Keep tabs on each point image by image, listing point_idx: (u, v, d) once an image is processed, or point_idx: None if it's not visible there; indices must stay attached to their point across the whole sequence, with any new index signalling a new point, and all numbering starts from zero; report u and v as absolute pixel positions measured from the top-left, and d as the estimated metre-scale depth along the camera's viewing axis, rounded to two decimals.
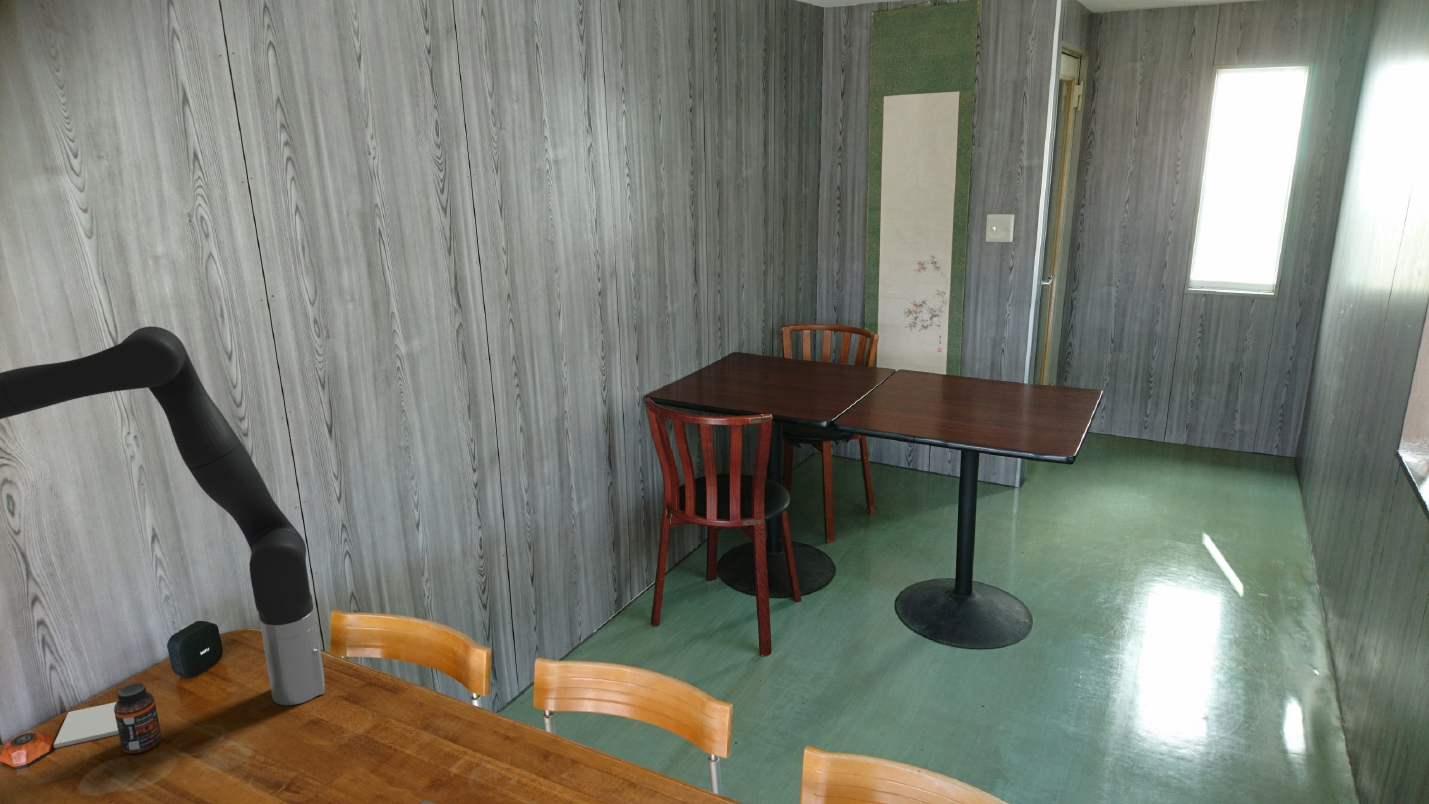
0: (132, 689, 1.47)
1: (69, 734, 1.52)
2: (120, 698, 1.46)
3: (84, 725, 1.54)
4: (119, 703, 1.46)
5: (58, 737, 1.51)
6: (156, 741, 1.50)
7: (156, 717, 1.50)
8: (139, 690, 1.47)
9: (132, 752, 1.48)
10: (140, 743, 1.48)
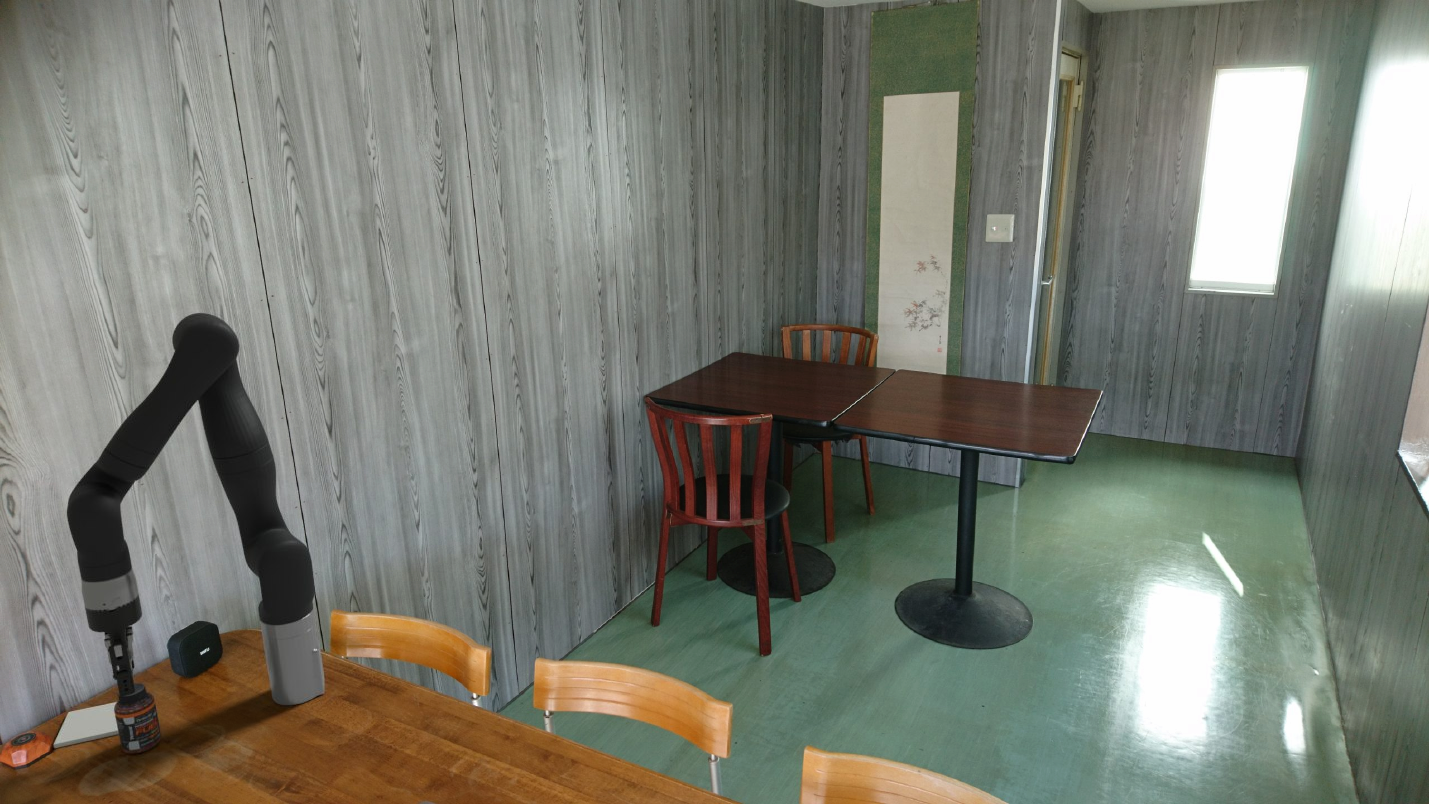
0: None
1: (69, 734, 1.52)
2: (120, 698, 1.46)
3: (84, 725, 1.54)
4: (119, 703, 1.46)
5: (58, 737, 1.51)
6: (156, 741, 1.50)
7: (156, 717, 1.50)
8: (139, 690, 1.47)
9: (132, 752, 1.48)
10: (140, 743, 1.48)
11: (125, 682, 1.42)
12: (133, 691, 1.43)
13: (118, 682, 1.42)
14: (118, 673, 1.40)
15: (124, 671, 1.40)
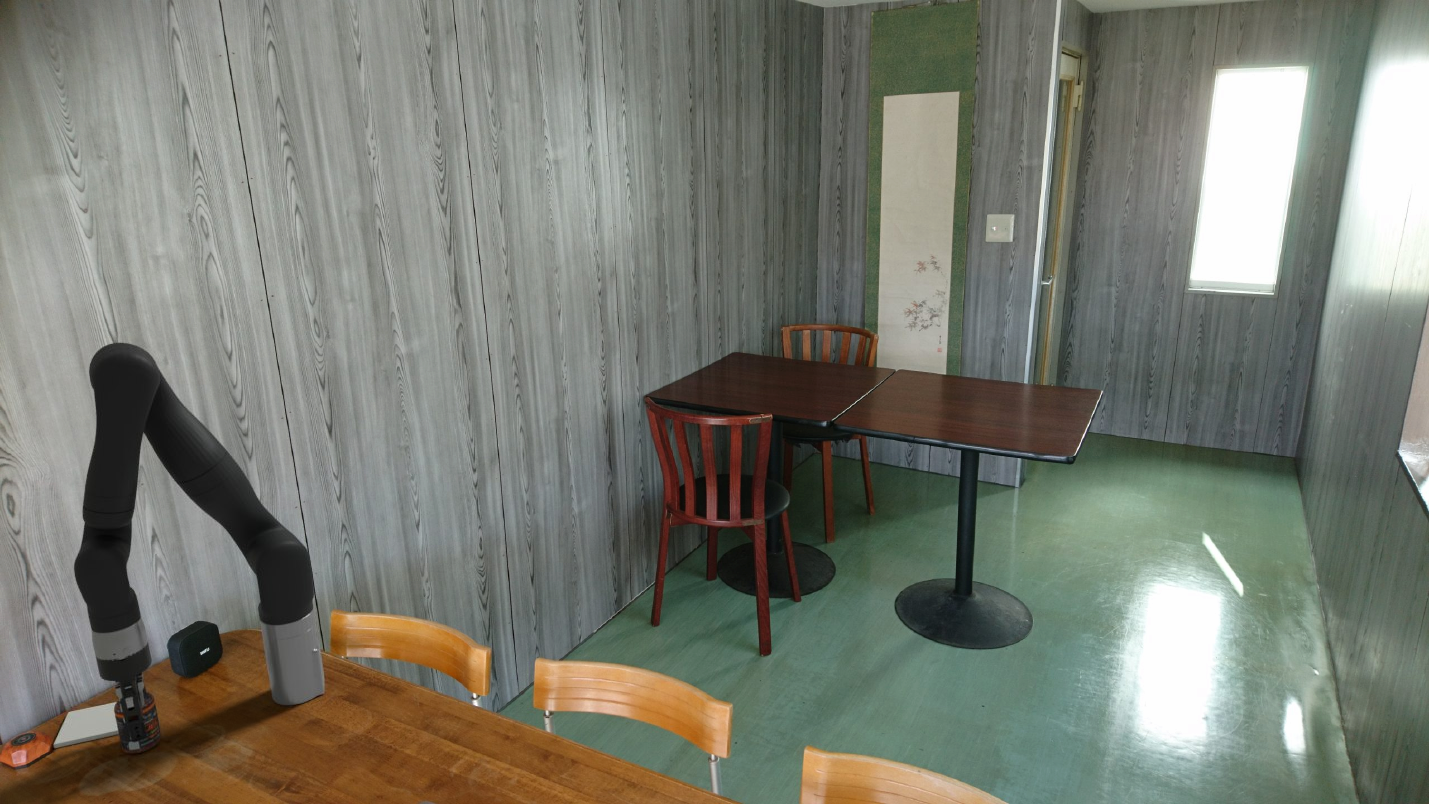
0: None
1: (69, 734, 1.52)
2: None
3: (84, 725, 1.54)
4: (119, 703, 1.46)
5: (58, 737, 1.51)
6: (156, 741, 1.50)
7: (156, 717, 1.50)
8: None
9: (132, 752, 1.48)
10: (140, 743, 1.48)
11: (137, 729, 1.46)
12: (145, 737, 1.47)
13: (130, 729, 1.46)
14: (130, 721, 1.43)
15: (136, 719, 1.44)
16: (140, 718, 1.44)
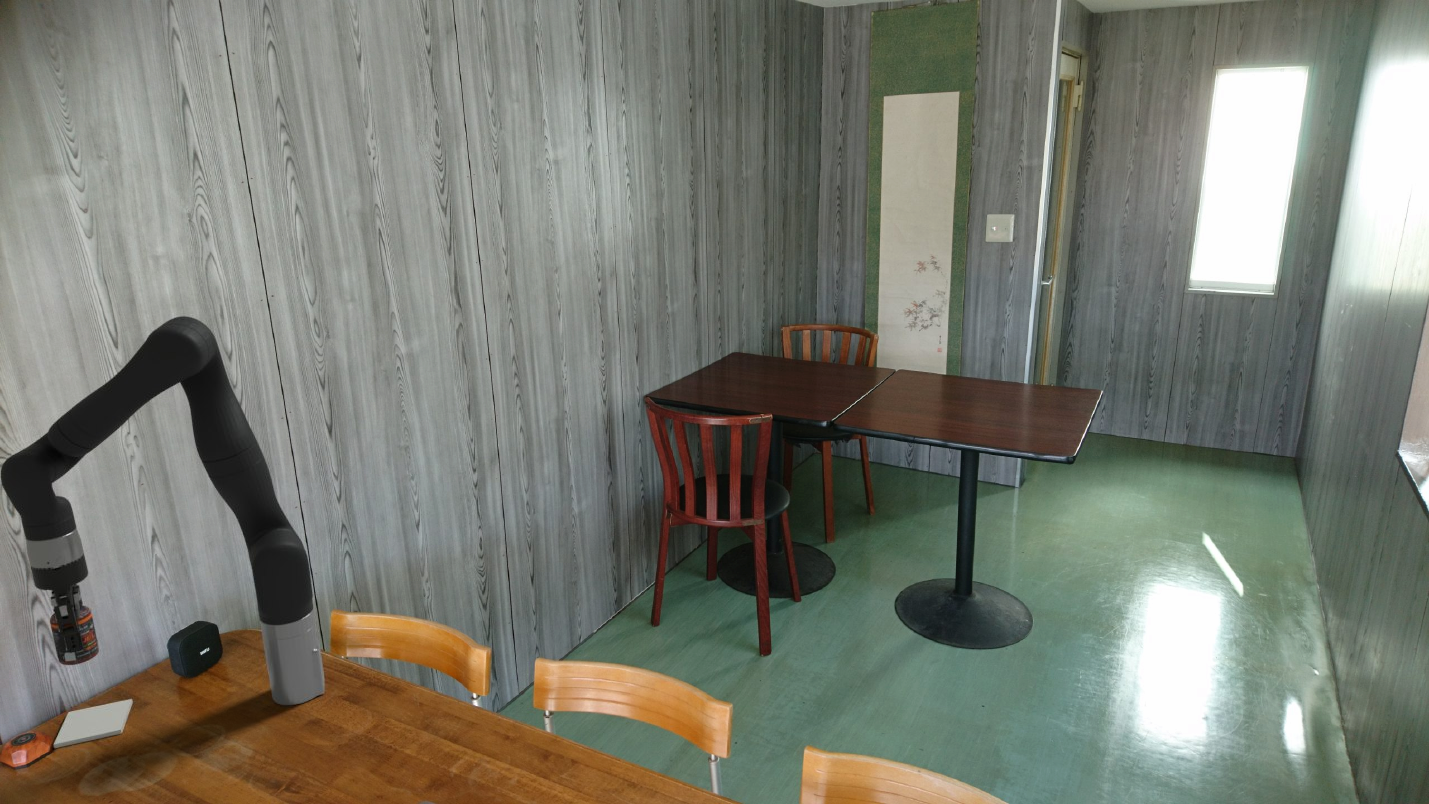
0: None
1: (69, 734, 1.52)
2: None
3: (84, 725, 1.54)
4: None
5: (58, 737, 1.51)
6: (93, 654, 1.51)
7: (93, 630, 1.51)
8: None
9: (68, 663, 1.49)
10: (76, 654, 1.49)
11: (72, 639, 1.47)
12: (81, 648, 1.49)
13: (66, 639, 1.47)
14: (64, 630, 1.45)
15: (70, 628, 1.45)
16: (75, 627, 1.45)
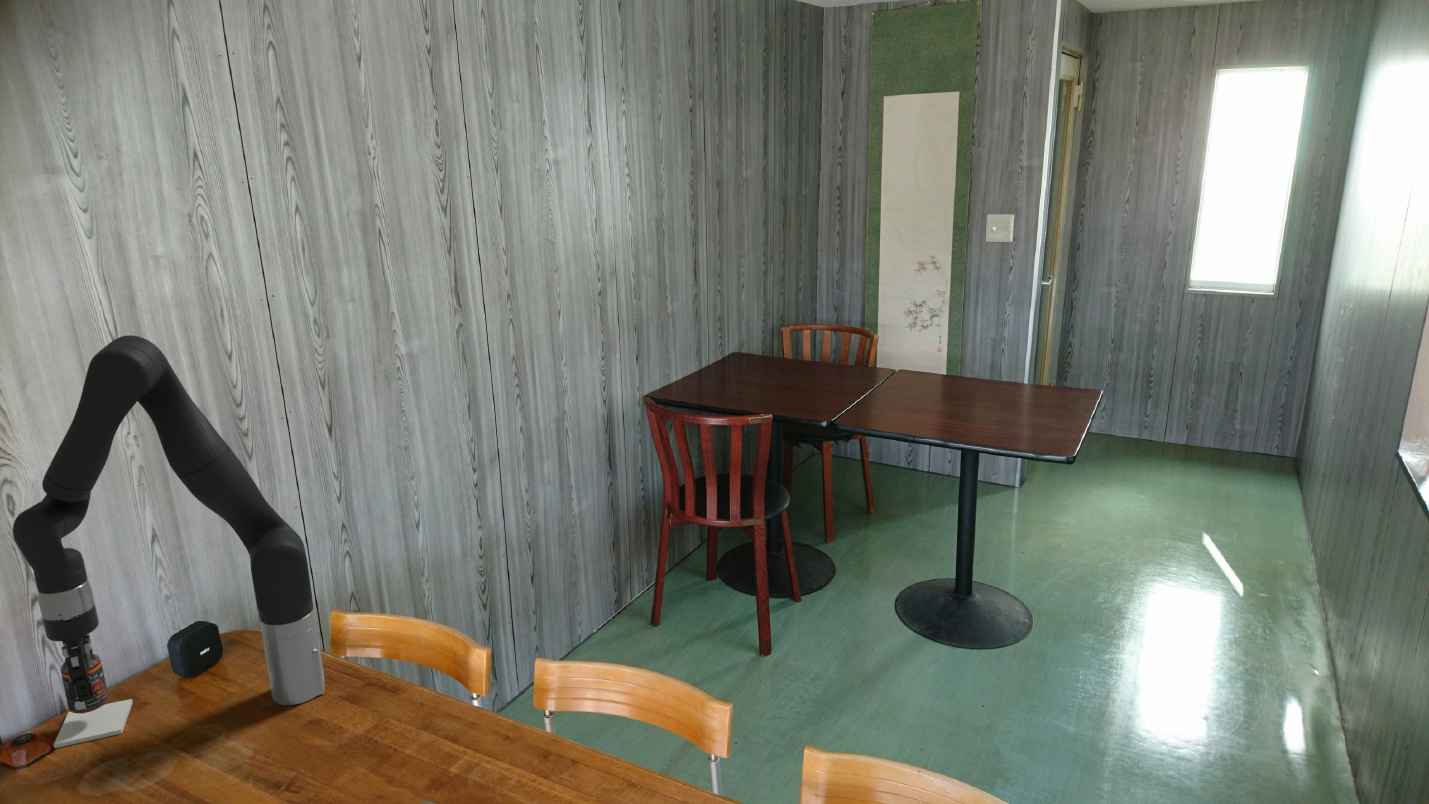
0: None
1: (69, 734, 1.52)
2: None
3: (84, 725, 1.54)
4: (65, 664, 1.50)
5: (58, 737, 1.51)
6: (103, 702, 1.54)
7: (103, 678, 1.54)
8: None
9: (78, 712, 1.51)
10: (86, 703, 1.51)
11: (83, 688, 1.50)
12: (91, 697, 1.51)
13: (76, 688, 1.50)
14: (75, 680, 1.47)
15: (81, 678, 1.48)
16: (85, 677, 1.48)
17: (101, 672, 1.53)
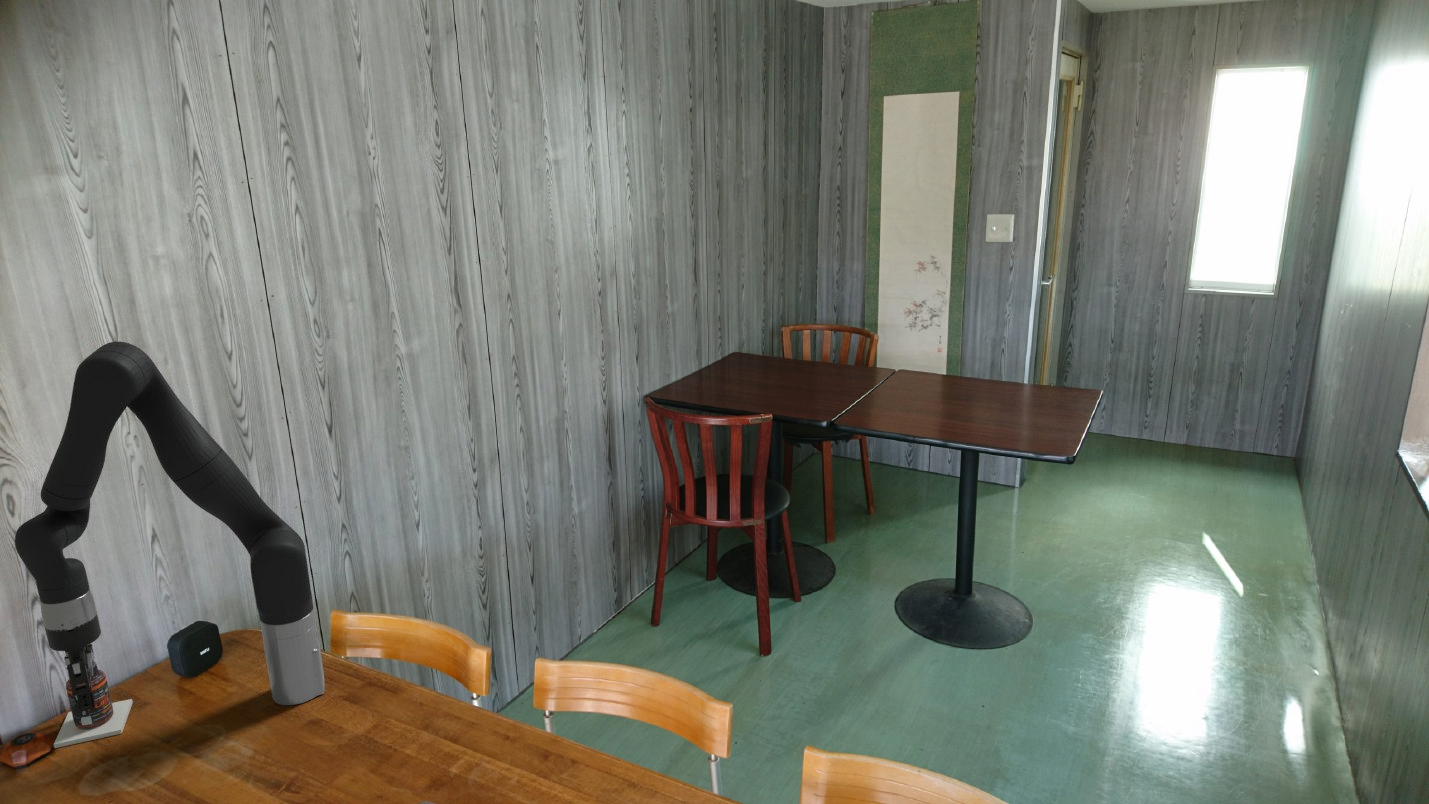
0: None
1: (69, 734, 1.52)
2: None
3: None
4: None
5: (58, 737, 1.51)
6: (108, 717, 1.55)
7: (108, 693, 1.55)
8: None
9: (85, 727, 1.53)
10: (92, 718, 1.53)
11: (85, 698, 1.49)
12: (93, 706, 1.51)
13: (78, 698, 1.49)
14: (77, 690, 1.47)
15: (83, 688, 1.47)
16: (87, 687, 1.47)
17: (106, 687, 1.55)
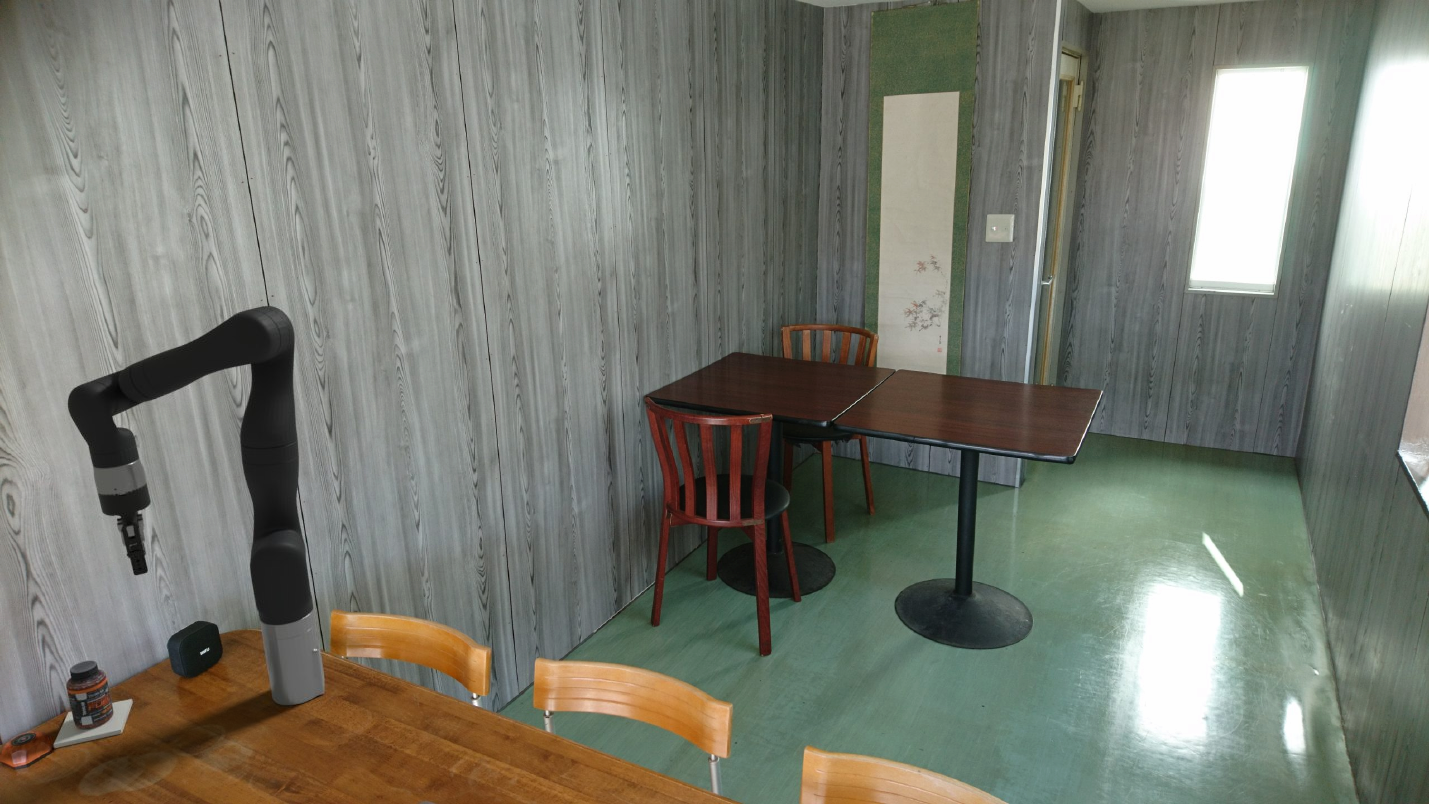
0: (84, 666, 1.53)
1: (69, 734, 1.52)
2: (72, 675, 1.51)
3: None
4: (71, 680, 1.52)
5: (58, 737, 1.51)
6: (109, 717, 1.55)
7: (108, 693, 1.55)
8: (91, 667, 1.52)
9: (85, 727, 1.53)
10: (93, 718, 1.53)
11: (138, 562, 1.55)
12: (146, 571, 1.56)
13: (132, 562, 1.55)
14: (131, 552, 1.52)
15: (137, 550, 1.53)
16: (141, 549, 1.53)
17: (106, 687, 1.55)
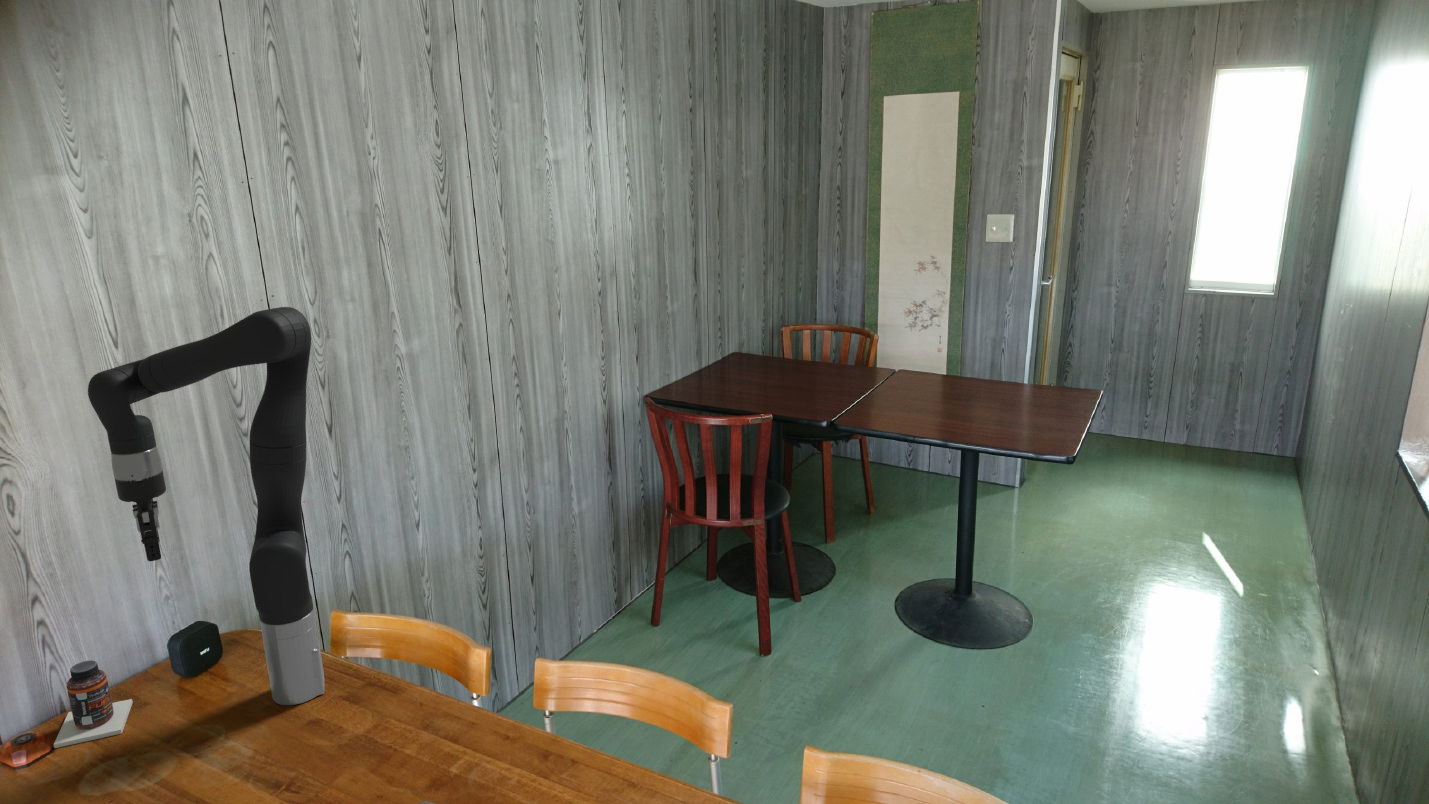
0: (84, 666, 1.53)
1: (69, 734, 1.52)
2: (72, 675, 1.51)
3: None
4: (71, 680, 1.52)
5: (58, 737, 1.51)
6: (109, 717, 1.55)
7: (108, 693, 1.55)
8: (91, 666, 1.53)
9: (85, 727, 1.53)
10: (93, 718, 1.53)
11: (152, 548, 1.57)
12: (159, 557, 1.58)
13: (146, 548, 1.57)
14: (146, 538, 1.54)
15: (151, 536, 1.55)
16: (155, 536, 1.55)
17: (107, 687, 1.55)
